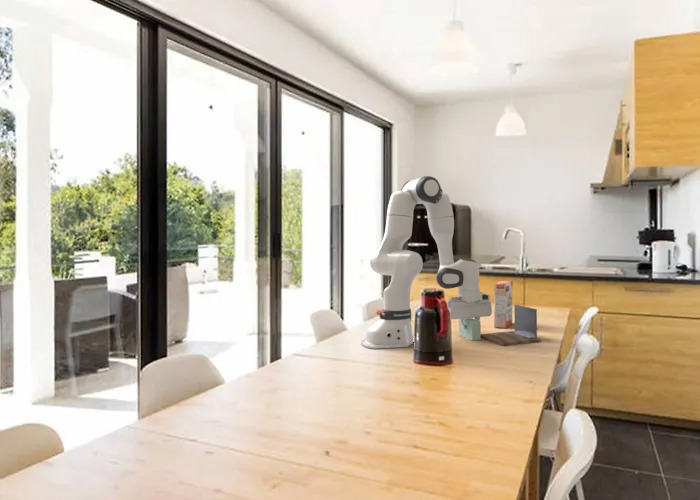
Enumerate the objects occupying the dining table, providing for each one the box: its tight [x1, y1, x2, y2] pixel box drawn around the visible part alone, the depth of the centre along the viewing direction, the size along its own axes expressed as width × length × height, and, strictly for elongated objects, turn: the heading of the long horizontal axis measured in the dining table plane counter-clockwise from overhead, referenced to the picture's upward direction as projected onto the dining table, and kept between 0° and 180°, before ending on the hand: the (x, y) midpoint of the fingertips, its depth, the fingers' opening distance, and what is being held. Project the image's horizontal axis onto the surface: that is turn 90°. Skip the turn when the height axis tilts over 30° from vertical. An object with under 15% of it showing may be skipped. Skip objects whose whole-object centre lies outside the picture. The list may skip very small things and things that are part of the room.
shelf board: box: [481, 330, 542, 347], centre depth 220 cm, size 18×18×1 cm
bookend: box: [509, 304, 538, 339], centre depth 221 cm, size 4×14×12 cm, turn 18°
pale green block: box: [458, 318, 482, 341], centre depth 225 cm, size 4×11×8 cm, turn 18°
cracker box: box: [493, 280, 514, 329], centre depth 248 cm, size 14×6×21 cm, turn 151°
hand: (469, 328), depth 225 cm, fingers closed on pale green block, 4 cm apart
